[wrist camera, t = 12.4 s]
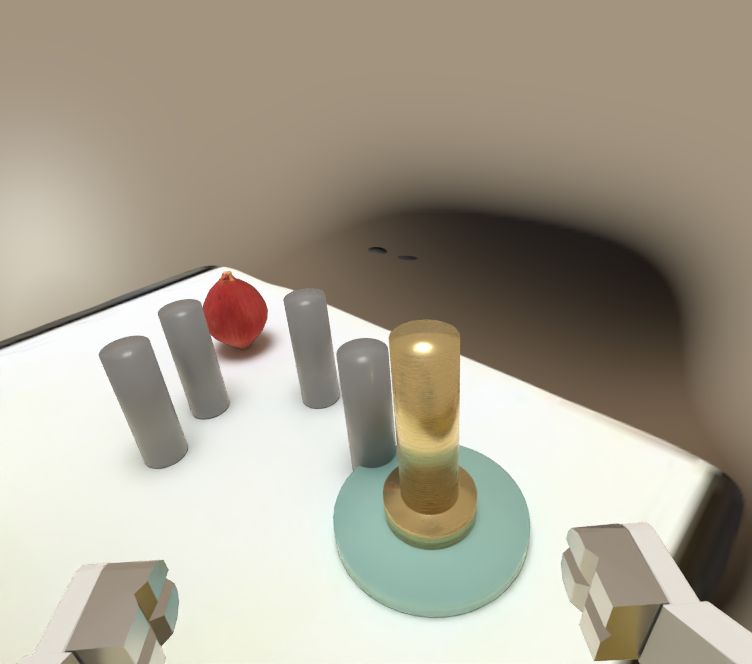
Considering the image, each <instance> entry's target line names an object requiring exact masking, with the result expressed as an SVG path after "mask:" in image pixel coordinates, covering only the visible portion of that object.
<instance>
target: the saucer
mask: <svg viewBox="0 0 752 664" xmlns="http://www.w3.org/2000/svg"><path fill="white" fill-rule="evenodd" d="M398 466H399V465H398V452H397V446H396V454H395V456H394V458H393V459H392V460H391V461H390V462H389V463H388V464H386V465H384V466H381V467H378V468H365V467H362V466H358V467H357V468H356V469H355V470H354V471H353V472H352V473H351V475H350V476H349V477H348V478H347V479H346V481H345V483H344V484H343V486H342V488H341V490H340V492H339V494H338V497H337V500H336V503H335V507H334V516H333V521H334V532H335V537H336V542H337V547H338V552H339V555H340V558H341V560H342V563H343V565H344V567H345V568H346V570H347V572H348V574H349V575H350V576H351V578H352V579H353V580H354V582H355V583H356V584H357V585H358V586H359V587H360V588H361V589H362V590H363V591H364V592H365V593H367V594H368V595H369V596H371V597H372V598H373V599H375V600H376V601H378V602H380V603H382V604H384V605H385V606H387V607H389V608H392V609H395V610H397V611H400V612H403V613H407V614H411V615H415V616H424V617H448V616H454V615H460V614H464V613H467V612H470V611H473V610H476V609H478V608H480V607H482V606H484V605H487V604H488V603H490V602H491V601H493V600H494V599H496V598H497V597H499V596H500V595H501V594H502V593H503V592H504V591H505V590H506V589H507V588H508V587H509V586H510V585H511V584H512V582H513V581H514V580H515V579H516V577H517V575H518V573H519V572H520V570H521V568H522V566H523V563H524V560H525V557H526V553H527V547H528V540H529V530H530V519H529V512H528V508H527V504H526V501H525V498H524V496H523V494H522V492H521V490H520V488H519V487H518V485H517V484H516V482H515V481H514V480H513V479H512V477H511V476H510V475H509V474H508V473H507V472H506V471H505V470H504V469H503V468H502V467H501V466H500V465H498V464H497V463H495V462H494V461H493V460H491V459H490V458H488V457H486V456H485V455H483V454H481V453H479V452H477V451H474V450H472V449H469V448H466V447H463V446H460V445H459V466H460V467H462V468H463V469H464V470H466V471H467V472H468V473H469V475H470V476H471V477H472V479H473V481H474V483H475V485H476V489H477V516H476V522H475V525H474V527H473V529H472V531H471V532H470V533H469V535H468V536H467V537H466V538H465V539H463V540H462V541H461V542H459V543H458V544H456V545H454V546H451V547H449V548H445V549H440V550H424V549H419V548H415V547H412V546H410V545H408V544H406V543H404V542H402V541H401V540H400V539H398V538H397V537H396V536H395V535H394V534H393V533H392V531H391V530H390V529H389V527H388V525H387V522H386V519H385V513H384V503H383V487H384V483H385V481H386V479H387V477H388V476H389V474H390V473H391V472H392V471H393V470H394V469H395V468H396V467H398Z"/></svg>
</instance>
